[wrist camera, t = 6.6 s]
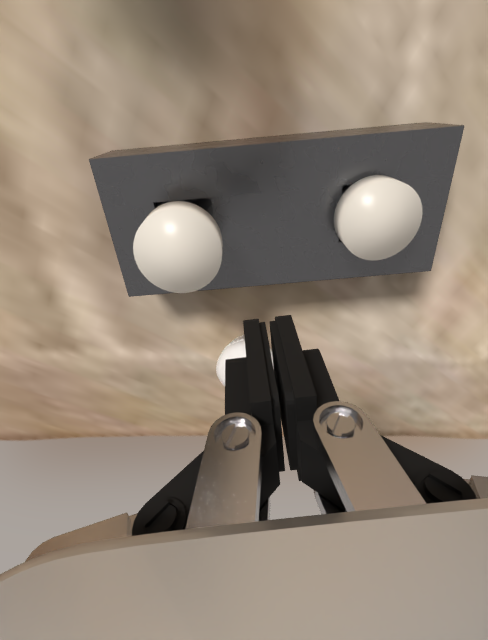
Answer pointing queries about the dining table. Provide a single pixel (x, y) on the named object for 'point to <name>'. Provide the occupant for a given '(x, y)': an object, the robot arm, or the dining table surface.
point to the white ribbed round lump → (231, 355)
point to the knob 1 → (178, 247)
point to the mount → (279, 198)
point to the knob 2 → (377, 217)
